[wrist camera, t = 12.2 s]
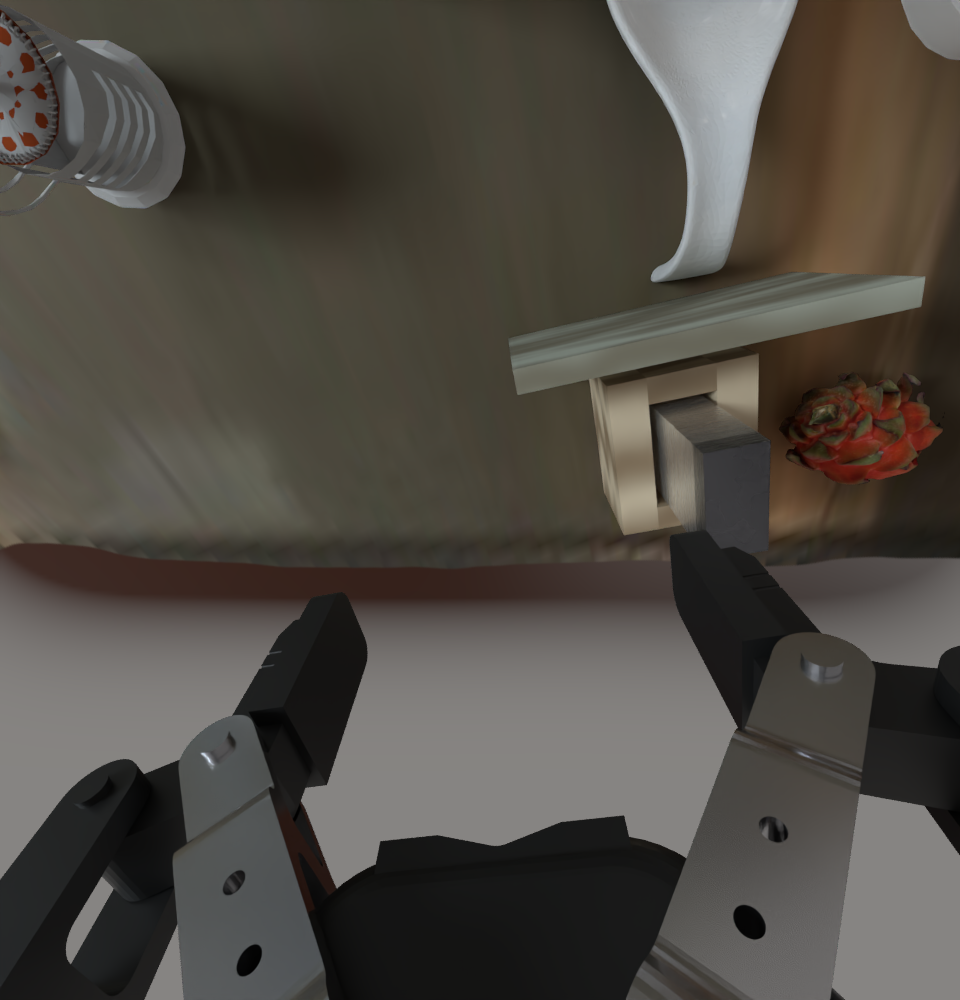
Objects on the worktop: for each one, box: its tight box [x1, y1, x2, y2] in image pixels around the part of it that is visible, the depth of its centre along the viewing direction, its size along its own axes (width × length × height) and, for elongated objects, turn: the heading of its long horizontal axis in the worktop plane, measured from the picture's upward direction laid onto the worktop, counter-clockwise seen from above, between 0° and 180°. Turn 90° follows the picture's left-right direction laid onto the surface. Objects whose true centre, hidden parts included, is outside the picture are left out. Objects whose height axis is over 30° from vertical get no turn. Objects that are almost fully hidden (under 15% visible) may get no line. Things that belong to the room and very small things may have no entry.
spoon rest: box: [607, 0, 798, 282], centre depth 30 cm, size 24×12×7 cm, turn 10°
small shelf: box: [508, 272, 925, 535], centre depth 36 cm, size 16×22×13 cm
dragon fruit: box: [779, 372, 945, 485], centre depth 39 cm, size 8×8×12 cm
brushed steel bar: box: [649, 394, 771, 553], centre depth 33 cm, size 7×4×12 cm, turn 13°
